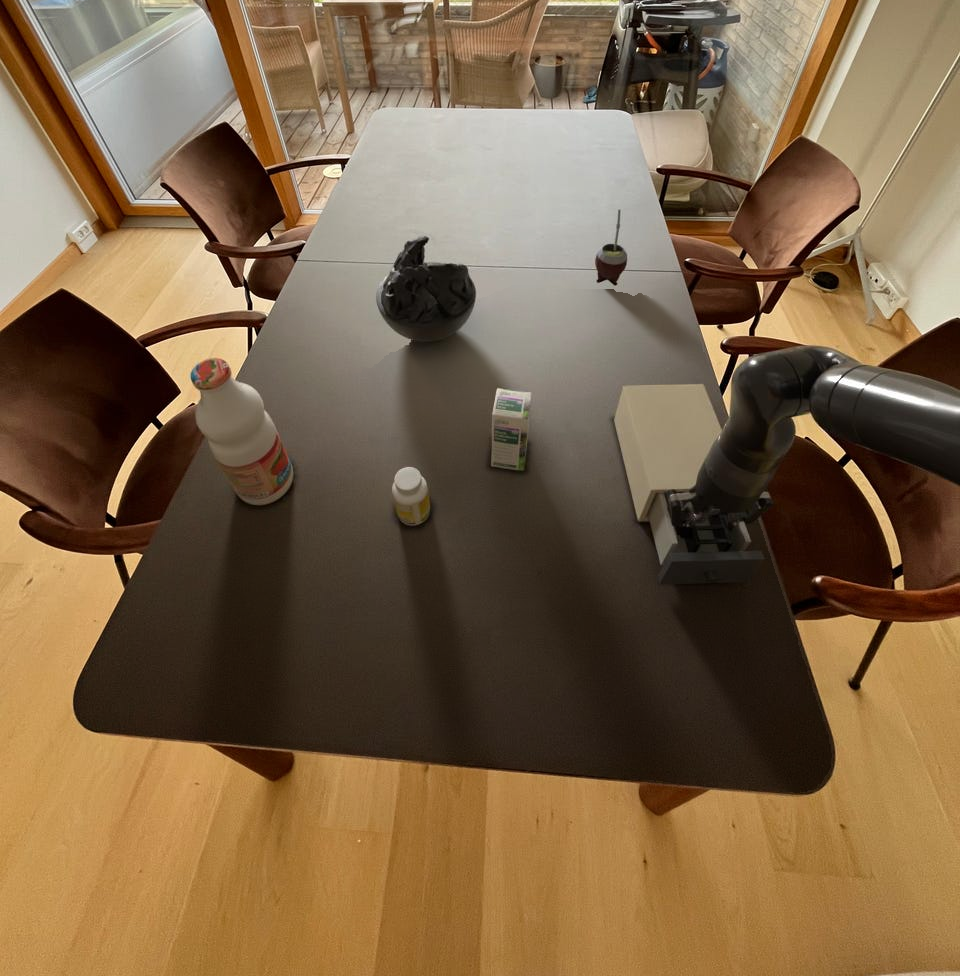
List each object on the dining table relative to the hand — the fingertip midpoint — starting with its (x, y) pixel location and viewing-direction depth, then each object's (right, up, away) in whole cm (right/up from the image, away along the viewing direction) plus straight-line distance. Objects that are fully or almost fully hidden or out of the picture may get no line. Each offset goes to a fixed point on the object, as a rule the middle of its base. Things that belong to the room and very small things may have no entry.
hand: (700, 531), depth 83 cm
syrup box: (-27, +8, +16) cm, 32 cm away
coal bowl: (-43, +30, +38) cm, 65 cm away
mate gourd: (-2, +42, +51) cm, 66 cm away
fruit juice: (-68, +4, +13) cm, 69 cm away
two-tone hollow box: (0, -1, +6) cm, 6 cm away
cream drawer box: (0, +6, +14) cm, 16 cm away
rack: (0, 0, 0) cm, 0 cm away
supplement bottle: (-43, 0, +9) cm, 44 cm away
